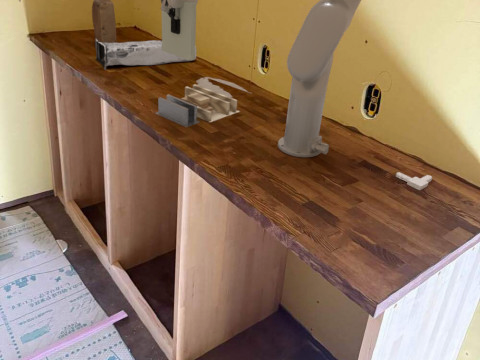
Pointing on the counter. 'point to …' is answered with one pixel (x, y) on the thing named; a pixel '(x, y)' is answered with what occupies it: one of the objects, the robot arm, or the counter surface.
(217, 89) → the stone tablet
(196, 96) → the offcut stack
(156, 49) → the concrete block
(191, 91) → the rack
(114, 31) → the block
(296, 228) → the counter surface
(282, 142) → the robot arm
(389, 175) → the counter surface
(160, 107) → the stand
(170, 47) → the grey-green panel
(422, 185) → the corner connector
